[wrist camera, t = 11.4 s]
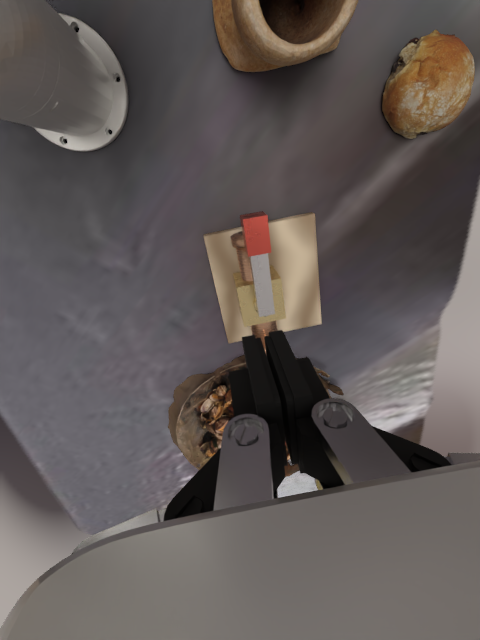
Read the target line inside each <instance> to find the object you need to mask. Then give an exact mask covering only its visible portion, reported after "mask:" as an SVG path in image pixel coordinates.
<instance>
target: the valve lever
mask: <svg viewBox="0 0 480 640" xmlns="http://www.w3.org/2000/svg"><path fill="white" fill-rule="evenodd" d="M240 219H241V226H242V232H243V239H244V246H245V251H246V253H247V255H248V257H249V258H250V265H251V272H252V279H253V285H254V292H255V299H256V306H257V312H258V315H259V317H262V316H264V317H266V316H269V315H273V314H275V310H274V301H273V293H272V284H271V276H270V267H269V259H268V253H271V244H270V235H269V226H268V217H267V214H265V213H264V212H263V211H262V212H256V213H251V214H245V215H240Z"/></svg>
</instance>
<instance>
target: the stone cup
mask: <svg viewBox="0 0 480 640" xmlns="http://www.w3.org/2000/svg"><path fill="white" fill-rule="evenodd" d="M212 3H213V16H214V23H215V28H216V33H217V37H218V40H219V44H220V47H221V49H222V52H223V53H224V55H225V56H226V57H227V58H228V60H229V63H230V64H231V66H232V67H233V68H235V69H236V70H240V71H245V72H260V71H268V70H272V69H276V68H280V67H284V66H290V65H295V64H299V63H302V62H305V61H308V60H310V59H312V58H314V57H316V56H318V55H320V54H324V53H327V52H330V51H332V50H334V49H336V48H337V46H338V43H339V40H340V37H341V34H342V32H343V31H344V29H345V28H346V26H347V25H348V23H349V21H350V20H351V18H352V16H353V13H354V11H355V8H356V5H357V3H358V0H212Z"/></svg>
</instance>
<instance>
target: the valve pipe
mask: <svg viewBox="0 0 480 640" xmlns="http://www.w3.org/2000/svg"><path fill="white" fill-rule="evenodd" d="M231 242H232V246H233V247H234V248H236V252H237V257H238V263H239V268H240V272H237V273H233V277H234V282H235V287H236V292H237V297H238V302H239V307H240V312H241V316H242V320H243V324H244V327H247V326H250V327H251V332H252V335H255V337H256V338H259V337H260V338H261V341H262V344H263V347H264V350H265V353H266V348H265V340H264V337H265V336H269V332H273V331H278V329H277V322H276V320H281V319H286V313H285V305H284V297H283V288H282V280H281V277H280V276H279V274H278V273H277V271H276V270H275V268H274V267H273V265H271V266H269V267H270V276H271V284H272V293H273V301H274V310H275V314H273V315H269V316H266V317H264V316H262V317H259V315H258V312H257V306H256V299H255V292H254V285H253V279H252V272H251V265H250V258H249V257H248V255H247V253H246V251H245V246H244V239H243V232H242V231H240V232H238V233H235V234H233V235H231Z"/></svg>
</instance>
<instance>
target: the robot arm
mask: <svg viewBox="0 0 480 640" xmlns="http://www.w3.org/2000/svg"><path fill="white" fill-rule="evenodd" d="M76 28H79V32H77V33H76ZM118 77H120V82H117V78H118ZM128 105H129V97H128V87H127V83H126V79H125V75H124V73H123V70H122V68H121V65H120V63H119V61H118V59H117V58H116V56H115V54H114V52H113V51H112V49H111V48H110V47H109V46H108V44H107V43H106V42H105V41H104V40H103V38H102V37H101V36H100V35H99V34H98V33H97V32H96V31H95V30H93V29H92V28H91V27H89V26H88V25H87V24H85V23H84V22H82V21H80V20H78V19H77V18H74V17H72V16H68V15H65V14H61V13H57V12H56V11H55V10H54V9H53V8H52V7H51V6H50V5H49V4H48V3H47V2H46V0H0V119H1V120H5V121H9V122H14V123H18V124H22V125H27V126H31V127H33V128H34V129H35V130H36V131H37V132H38V133H39V134H41V135H42V136H43V137H45V138H46V139H47V140H49V141H50V142H52V143H54V144H56V145H58V146H60V147H63V148H66V149H69V150H73V151H86V152H89V151H94V150H99V149H101V148H103V147H105V146H107V145H108V144H110V143H111V142H112V141H114V140H115V138H116V137H117V136H118V135H119V133H120V132H121V130H122V128H123V126H124V124H125V121H126V117H127V114H128ZM109 130H112V134H111V135H110V134H109ZM65 139H67V143H65ZM264 340H265V348H266V353H265V350H264V347H263V344H262V341H261V338H260V337H259V338H256V337H255V335H251V336H245V337H242V342H243V348H244V355H245V361H246V367H247V368H245V369H239V370H234V371H229V379H230V388H231V396H232V405H233V414H234V418H233V419H231V420H230V421H229V422H228V423H227V424H226V426H225V427H224V430H223V435H222V443H221V448H220V449H219V450H218V451H217V452H216V453H215V454H214V455H213V456H212V457H211V459H210V460H209V461H208V462H207V463H206V464H205V465H204V466H203V467H202V468H201V469H200V470H199V471H198V472H197V473H196V475H195V476H194V477H193V478H192V479H191V480H190V481H189V482H188V483H187V484H186V485H185V486H184V487H183V488H182V489H181V491H180V492H179V493H178V494H177V495H176V496H175V497H174V498H173V499H172V501H171V502H170V503H169V505H168V506H167V508H166V509H163V510H161V511H159V512H158V511H157V509H154V510H151V511H149V512H147V513H144V514H142V515H139V516H137V517H135V518H132V519H130V520H128V521H125V522H123V523H121V524H118V525H116V526H114V527H111V528H109V529H107V530H104V531H102V532H100V533H97V534H95V535H92V536H91V537H89V538H87V539H86V540H84V541H82V542H81V543H80V545H79V546H78V547H77V548H75V549H74V551H73V553H72V554H71V555H70V556H68V557H67V558H65V559H63V560H62V561H60V562H59V563H57V564H56V565H55V566H53V567H52V568H50V569H49V570H48V571H46V572H45V573H44V574H43V575H41V576H40V577H39V578H38V579H37V580H36V581H35V582H34V583H33V584H32V585H31V586H30V587H29V588H28V589H27V590H26V591H25V592H24V594H23V595H22V596H21V597H20V599H19V600H18V601H17V603H16V604H15V606H14V607H13V609H12V610H11V612H10V613H9V615H8V617H7V618H6V620H5V622H4V623H3V625H2V627H1V628H0V640H480V453H448V456H447V457H444V456H442V455H441V454H439V453H437V452H435V451H433V450H431V449H429V448H426V447H424V446H421V445H419V444H416V443H413V442H411V441H408V440H406V439H403V438H401V437H398V436H396V435H393V434H391V433H388V432H386V431H383V430H380V429H378V428H375V427H373V426H371V425H370V424H369V423H368V421H367V420H366V419H365V418H364V417H363V416H362V414H361V413H360V412H359V411H358V410H357V409H356V408H355V407H354V406H353V405H352V404H351V403H349V402H347V401H345V400H341V399H334V398H330V397H329V395H328V393H327V391H326V389H325V388H324V386H323V384H322V382H321V380H320V378H319V376H318V375H317V373H316V371H315V369H314V367H313V365H312V363H311V362H310V360H309V358H307V357H306V358H300V359H296V358H295V356H294V354H293V352H292V350H291V348H290V346H289V343H288V341H287V339H286V337H285V335H284V333H283V331H282V330H279V331H273V332H269V336H265V337H264ZM285 442H286V443H285ZM286 445H287V449H288V452H289V456H290V459H291V462H292V464H298V467H299V470H300V473H306V474H308V475H310V476H311V477H313V478H315V483H316V486H317V488H318V490H317V491H312V492H307V493H302V494H296V495H291V496H286V497H281V498H278V491H277V488H278V486H279V485H280V484H281V482H282V481H283V479H284V478H285V467H284V466H288V462H287V453H286Z"/></svg>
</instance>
